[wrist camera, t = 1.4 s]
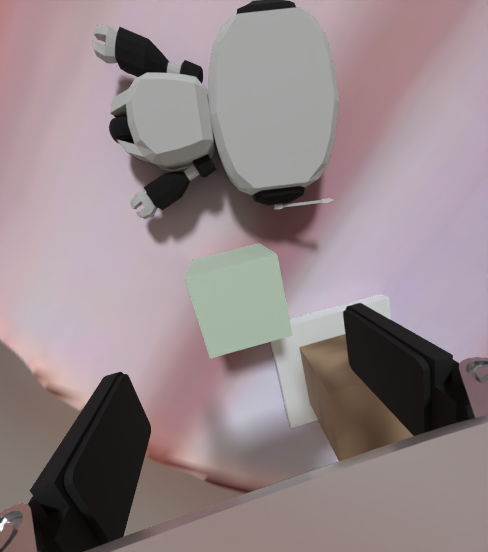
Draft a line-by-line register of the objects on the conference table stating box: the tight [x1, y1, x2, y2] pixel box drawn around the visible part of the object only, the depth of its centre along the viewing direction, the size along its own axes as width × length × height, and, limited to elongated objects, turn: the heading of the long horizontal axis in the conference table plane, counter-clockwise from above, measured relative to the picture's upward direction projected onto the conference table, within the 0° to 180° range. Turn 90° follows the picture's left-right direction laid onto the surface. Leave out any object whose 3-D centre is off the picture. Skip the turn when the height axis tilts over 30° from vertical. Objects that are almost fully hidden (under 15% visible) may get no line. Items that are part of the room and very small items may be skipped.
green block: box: [185, 243, 292, 358], centre depth 18 cm, size 6×6×6 cm
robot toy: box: [92, 0, 339, 219], centre depth 16 cm, size 12×4×15 cm
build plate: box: [270, 294, 391, 428], centre depth 24 cm, size 12×12×1 cm
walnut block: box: [299, 334, 413, 461], centre depth 20 cm, size 7×7×6 cm
